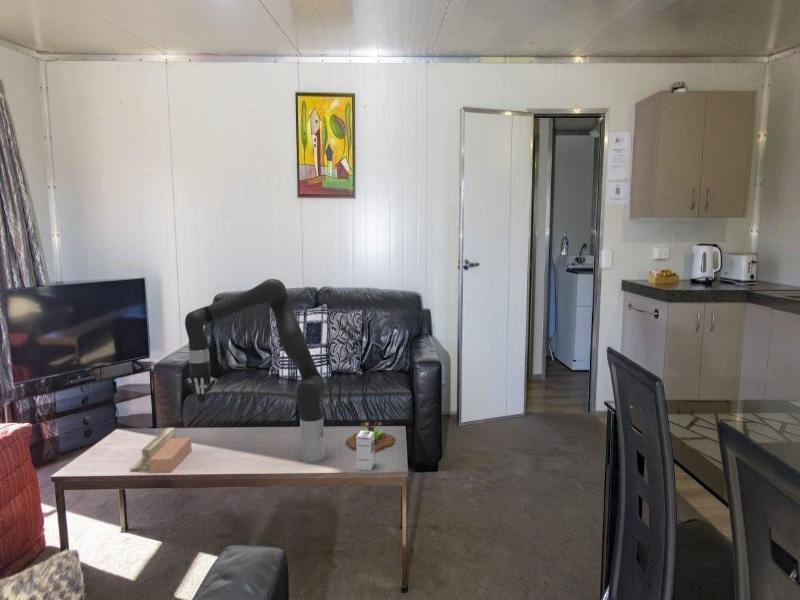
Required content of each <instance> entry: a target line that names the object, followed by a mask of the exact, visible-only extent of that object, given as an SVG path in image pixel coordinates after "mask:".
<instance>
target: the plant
mask: <svg viewBox="0 0 800 600" xmlns="http://www.w3.org/2000/svg"><path fill="white" fill-rule="evenodd" d="M376 424H377V425H378V426H381V424H382V423H381V422H380V421H375V422H374V423H373V425H372V424H371V421H367V422H365V423H364V422H361V423H360V426H361V427H364V426H365V427H366V428H365V430H364V429H360V430H359V432H360V431H373V432H374V449H375V454H376V453H378V452H380V451H383V450H385V449H387V448H392V446H394V445H395V442H396V437H395V436H393V435H392V434H389V433H386V432H383V431H378V428H376ZM359 432H357V433H354V434H353V435H351V436H349V437H348V438H347V439H346V440H345V446H347V447H348V448H349V449H350V450H352V451H356V452H357V446H356V436H357V435H358V433H359Z"/></svg>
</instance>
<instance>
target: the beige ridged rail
mask: <svg viewBox="0 0 800 600" xmlns="http://www.w3.org/2000/svg"><path fill="white" fill-rule="evenodd" d="M175 435H176V434H175V427H166V428H165V429H164V430H163V431H161V432H160V433H159V434H158V435H157V436H156V437H155V438H153V439H152V440H151V441H150V442H149V443H148V444H147V445H146V446H144V447H143V448H142V449H141V451H142V452H141V453H142V456H141V458H140V459H139V460H138V461H137V462H135V464H133V465H132V466H131V467H129V471H130V472H131V473H137V472H139V473H142V472H143V473H145V472H146V473H147V472H148V471H149V473H150V462H149V459H150V458H151V457H152V456H153V455H154V454H156V453H157V452H158V451H159V450H160V449H161V448H162V447H163V446H164V445H165V444H166V443H167V442H168V441H169V440H170V439H171V438H175V437H176V436H175Z"/></svg>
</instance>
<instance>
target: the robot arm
mask: <svg viewBox="0 0 800 600" xmlns="http://www.w3.org/2000/svg"><path fill="white" fill-rule="evenodd" d="M262 304H269V306H270V308H271V310H272V313H273V315H274V318H275V324H276V330H277V331H276V332H277V335H278V339H279V342H280V344H281V347H282V349H283V351H284V353H285V355H286V356H287V357H288V358H289V359H290V360H291V362H293V364H294V365H295V367H296V368H297V370H298V373H299V375H300V378H301V382H300V383H299V384H298V386H297V389H296V404H297V405H296V406H297V412H298V414H299V429H300V430H299V432H300V433H299V434H300V436H299V439H300V460H301V462H304V463H307V462H308V463H307V464H312V463H313V462H314V463H319V462H324V459H325V454H326V452H325V450H326V447H325V433H324V411H323V409H322V408H321V407H320V406H321V403H320V398H321V397H322V396H323V395H324V393H325V390H326V386H325V385H326V384H325V382H324V380H323V378H322V376H321V374H320V371H319V370H318V368H317V365H316V364H315V362H314V359H313V357H312V354H311V351H310V349H309V347H308V343H307V341H306V338H305V336H304V334H303V331H302V328H301V326H300V324H299V322H298V320H297V318H296V315H295V314H294V312H293V309H292V307H291V302H290V300H289V296H288V292H287V289H286V286H285V284H284V283H283V281H281V280H280V279H276V278H269V279H268V278H267V279H266V280H264V281H262V283H259V284H258V285H256V286H254V287H252V288H250V289H249V290H247V291H245V292H242V293H239V294H236V295H232V296H229V297H226V298H225V299H221V300H219V301H216V302H213V303H212V304H209V305H205V306H203V307H199V308H196V309H195V310H192V311H190V312H188V313H187V314H186V316H185V318H184V327H185V332H186V335H187V337H188V362H189V377H188V378H187V379H185V380H184V381H183V383H184V384H185V386H186V387H187V388H188V389H189V390H190V391H191V392H192V393H195V394H197V401H198V402H199V404H204V403H205V402H206V400H207V393H209V392H210V391H211V390H212V388H213V387H214V386H215V384H216V383H217V382H218V378H215V377H213V375H212V373H211V366H210V365H211V362H210V361H211V360H210V350H209V341H208V335H207V334H205V328H204V326H207V325H209V324H211V323H213V322H215V321H220V320H224V319H226V318H230V317H231V316H234V315H236V314H238V313H240V312H242V311H245V310H248V309H249V308H252V307H255V306H259V305H262ZM208 383H210V384H209V385H208V386H207V384H208ZM318 461H319V462H318ZM314 463H313V464H314Z"/></svg>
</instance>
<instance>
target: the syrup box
mask: <svg viewBox="0 0 800 600" xmlns="http://www.w3.org/2000/svg"><path fill="white" fill-rule="evenodd" d="M357 433H358V435H357V436H356V446H357V451H356V469H357V470H363V471H372V469H373V468H374V466H375V465H376V463H375V461H376V458H375V457H376V456H375V454H376V453H375V449H374V432H373V431H366V430H365V431H360V430H359V432H357Z"/></svg>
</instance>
